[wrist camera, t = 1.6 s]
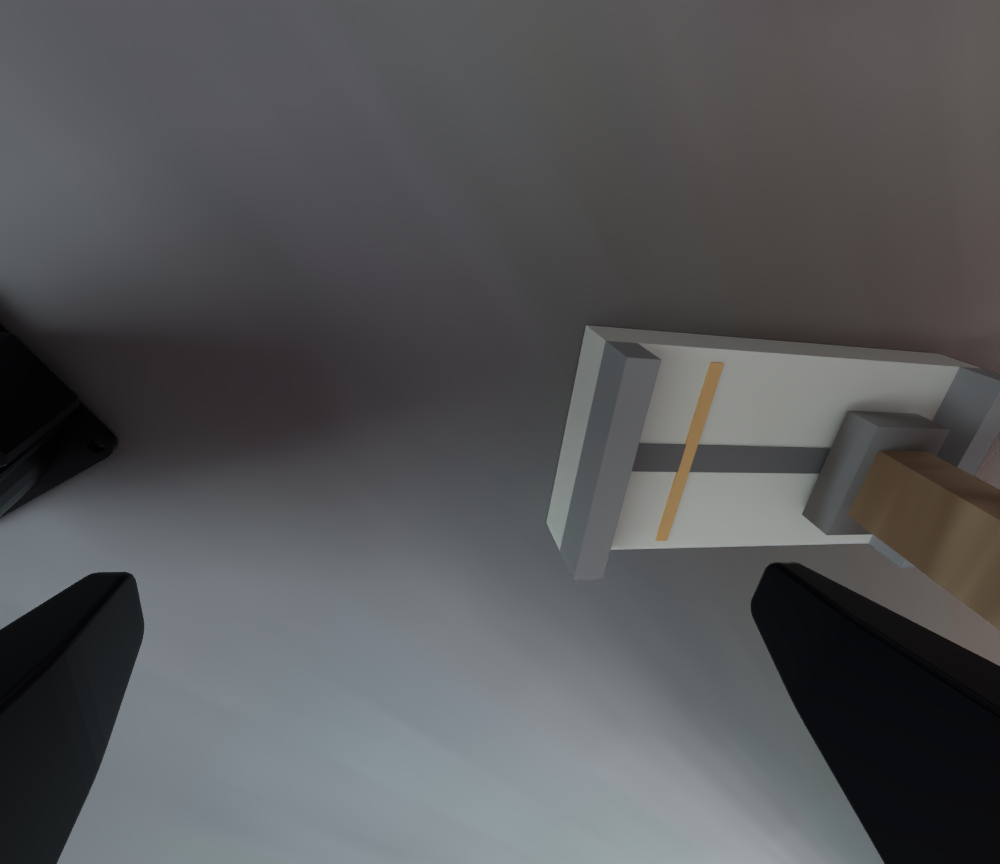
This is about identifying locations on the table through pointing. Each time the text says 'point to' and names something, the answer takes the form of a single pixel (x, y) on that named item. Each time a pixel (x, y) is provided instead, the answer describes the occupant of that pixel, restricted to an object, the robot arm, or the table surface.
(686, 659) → the table surface
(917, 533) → the fader
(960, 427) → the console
